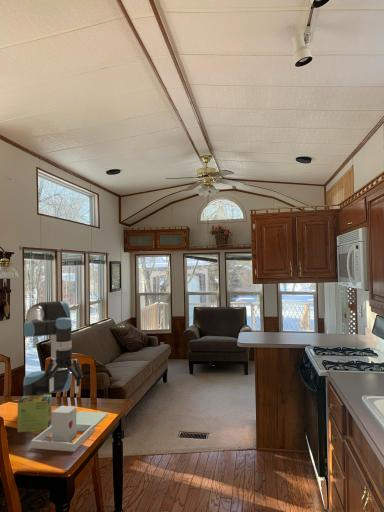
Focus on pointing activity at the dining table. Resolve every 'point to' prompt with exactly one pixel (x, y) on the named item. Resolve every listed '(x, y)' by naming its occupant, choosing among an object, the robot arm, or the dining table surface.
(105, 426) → the dining table surface
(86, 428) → the bin
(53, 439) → the supplement box
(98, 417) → the pad
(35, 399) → the protein box
